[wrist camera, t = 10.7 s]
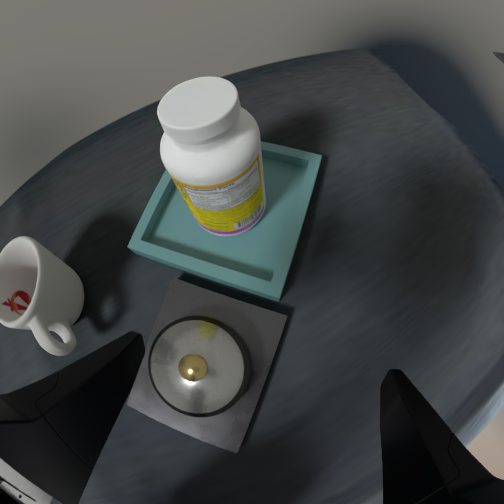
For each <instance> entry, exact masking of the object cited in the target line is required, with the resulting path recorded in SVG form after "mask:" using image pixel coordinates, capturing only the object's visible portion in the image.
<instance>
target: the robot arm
mask: <svg viewBox="0 0 504 504" xmlns="http://www.w3.org/2000/svg"><path fill="white" fill-rule="evenodd" d="M144 355H145V345H144V341H143V337H142V335H141V334H140V333H138V332H134V331H130V332H128V333H126V334H125V335H123V336H121V337H119V338H117V339H116V340H114V341H112V342H110V343H108V344H106V345H105V346H103V347H101V348H99V349H97V350H95V351H94V352H92V353H90V354H88V355H86V356H84V357H83V358H81V359H79V360H77V361H75V362H73V363H72V364H70V365H68V366H66V367H64V368H62V369H60V371H57V372H55V373H53V374H51V375H49V376H47V377H45V378H43V379H41V380H39V381H37V382H34V383H32V384H30V385H27V386H25V387H22V388H20V389H17V390H15V391H12V392H10V393H7V394H2V395H0V504H51V503H52V501H53V499H54V498H55V499H56V500H58V501H60V502H61V503H63V504H78V503H79V500H80V498H81V496H82V493H83V491H84V489H85V487H86V484H87V482H88V480H89V478H90V475H91V473H92V470H93V468H94V466H95V464H96V462H97V460H98V457H99V455H100V453H101V451H102V449H103V447H104V445H105V442H106V440H107V438H108V436H109V434H110V432H111V430H112V428H113V426H114V424H115V422H116V419H117V417H118V415H119V413H120V411H121V409H122V407H123V405H124V403H125V401H126V399H127V397H128V395H129V393H130V391H131V389H132V387H133V385H134V382H135V379H136V377H137V374H138V371H139V369H140V366H141V363H142V361H143V358H144ZM380 433H381V447H382V466H383V504H504V480H501V479H499V478H497V477H495V476H493V475H492V474H491V473H490V472H489V471H488V470H487V469H486V468H485V467H484V466H483V465H482V464H481V463H480V462H479V461H478V460H477V459H476V458H475V457H474V456H473V455H472V454H471V453H470V452H469V451H468V450H467V449H466V448H465V446H464V445H463V444H462V443H461V442H460V440H459V439H458V438H457V437H456V436H455V434H454V433H452V431H451V429H450V428H449V427H448V426H447V424H446V423H445V422H444V421H443V420H442V418H441V417H440V416H439V415H438V413H437V412H436V411H435V410H434V409H433V407H432V406H431V405H430V404H429V403H428V401H427V400H426V399H425V398H424V397H423V395H422V394H421V393H420V392H419V391H418V389H417V388H416V387H415V386H414V385H413V384H412V382H411V381H410V380H409V379H408V378H407V377H406V375H405V374H404V373H403V372H402V371H401V370H399V369H390V370H389V371H388V373H387V375H386V376H385V378H384V380H383V382H382V384H381V389H380Z"/></svg>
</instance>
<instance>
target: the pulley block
mask: <svg viewBox="0 0 504 504" xmlns="http://www.w3.org/2000/svg"><path fill="white" fill-rule="evenodd" d="M286 319H287V315H283V314H280V313H277V312H274V311H271V310H267V309H264V308H261V307H258V306H255V305H252V304H249V303H246V302H243V301H240V300H237V299H234V298H231V297H228V296H225V295H222V294H219V293H216V292H213V291H210V290H207V289H204V288H201V287H199V286H196V285H193V284H190V283H187V282H184V281H182V280H179V279H176V278H172V280H171V282H170V285H169V288H168V290H167V293H166V295H165V298H164V300H163V303H162V305H161V308H160V311H159V313H158V316H157V319H156V321H155V324H154V327H153V329H152V332H151V335H150V338H149V340H148V343H147V346H146V349H145V355H144V358H143V361H142V363H141V366H140V369H139V371H138V374H137V377H136V379H135V382H134V385H133V387H132V390H131V394H130V397H129V400H128V403H127V405H129V406H130V407H132V408H134V409H136V410H138V411H140V412H141V413H143V414H145V415H147V416H149V417H151V418H153V419H155V420H157V421H159V422H161V423H163V424H165V425H167V426H170V427H172V428H174V429H176V430H178V431H181V432H183V433H185V434H187V435H190V436H192V437H195V438H197V439H199V440H202V441H204V442H207V443H209V444H212V445H215V446H217V447H220V448H223V449H226V450H228V451H231V452H234V453H238V451H239V448H240V446H241V443H242V441H243V438H244V436H245V433H246V431H247V428H248V426H249V423H250V421H251V418H252V415H253V413H254V410H255V407H256V405H257V402H258V399H259V397H260V394H261V391H262V389H263V386H264V383H265V380H266V378H267V375H268V372H269V369H270V366H271V363H272V361H273V358H274V355H275V352H276V349H277V346H278V343H279V340H280V337H281V334H282V331H283V328H284V325H285V322H286Z"/></svg>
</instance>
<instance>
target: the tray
mask: <svg viewBox="0 0 504 504" xmlns="http://www.w3.org/2000/svg"><path fill="white" fill-rule="evenodd" d="M261 152H262V163H263V174H264V185H265V196H266V204H265V209H264V212H263V214H262V216H261V218H260V220H259V221H258V222H257V223H256V224H255V225H254V226H253V227H252V228H251V229H249V230H248V231H246V232H244V233H242V234H239V235H235V236H217V235H214V234H212V233H210V232H208V231H206V230H205V229H203V228H202V227H201V226H200V225H199V223H198V222H197V220H196V219H195V218H194V216H193V214H192V212H191V211H190V209H189V207H188V206H187V204H186V202H185V200H184V199H183V197H182V195H181V194H180V192H179V190H178V188H177V187H176V185H175V183H174V181H173V180H172V178H171V176H170V174H169V173H168V171H167V169H166V171H165V173H164V174H163V176H162V178H161V180H160V182H159V184H158V185H157V187H156V189H155V191H154V193H153V195H152V197H151V199H150V201H149V203H148V205H147V207H146V209H145V211H144V213H143V215H142V217H141V219H140V221H139V223H138V225H137V227H136V229H135V231H134V233H133V236H132V238H131V240H130V242H129V244H128V248H129V249H130V250H132V251H133V252H134V253H136V254H138V255H141V256H143V257H146V258H149V259H152V260H155V261H157V262H160V263H163V264H166V265H169V266H171V267H174V268H177V269H180V270H183V271H186V272H189V273H191V274H194V275H197V276H200V277H203V278H206V279H209V280H212V281H215V282H218V283H221V284H224V285H227V286H230V287H233V288H236V289H239V290H242V291H245V292H249V293H252V294H255V295H258V296H261V297H264V298H267V299H271V300H274V301H277V302H279V301H280V298H281V295H282V292H283V289H284V286H285V282H286V279H287V276H288V273H289V270H290V267H291V263H292V260H293V257H294V254H295V251H296V247H297V244H298V241H299V237H300V234H301V231H302V227H303V224H304V221H305V217H306V214H307V210H308V207H309V203H310V200H311V196H312V193H313V189H314V186H315V182H316V179H317V175H318V171H319V168H320V163H321V158H322V155H318V154H314V153H310V152H306V151H302V150H298V149H294V148H290V147H286V146H281V145H277V144H272V143H267V142H263V141H261Z"/></svg>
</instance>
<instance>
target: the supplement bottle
mask: <svg viewBox="0 0 504 504" xmlns="http://www.w3.org/2000/svg"><path fill="white" fill-rule="evenodd" d="M157 114H158V118H159V121H160V123H161V125H162V127H163V130H164V134H163V136H162V139H161V144H160V154H161V158H162V161H163V164H164V166H165V167H166V169H167V171H168V173H169V174H170V176H171V178H172V180H173V181H174V183H175V185H176V187H177V188H178V190H179V192H180V194H181V195H182V197H183V199H184V200H185V202H186V204H187V206H188V207H189V209H190V211H191V212H192V214H193V216H194V218H195V219H196V220H197V222H198V223H199V225H200V226H201V227H202V228H203V229H205V230H206V231H208V232H210V233H212V234H214V235H217V236H235V235H239V234H242V233H244V232H246V231H248V230H249V229H251V228H252V227H253V226H254V225H255V224H256V223H257V222H258V221H259V220H260V218H261V216H262V214H263V212H264V209H265V204H266V196H265V185H264V174H263V163H262V152H261V140H260V131H259V127H258V125H257V122H256V121H255V119H254V118H253V117H252V115H251V114H250V113H249V112H247V111H246V110H245V109H243V108H242V107H241V106H240V101H239V96H238V92H237V89H236V88H235V86H234V85H233V84H232V83H231V82H229V81H228V80H225V79H223V78H219V77H200V78H195V79H191V80H188V81H185V82H183V83H181V84H179V85H177V86H175V87H174V88H172V89H171V90H170V91H169V92H168V93H167V94H166V95H165V96H164V97H163V98H162V99H161V101H160V103H159V105H158V110H157Z"/></svg>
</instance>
